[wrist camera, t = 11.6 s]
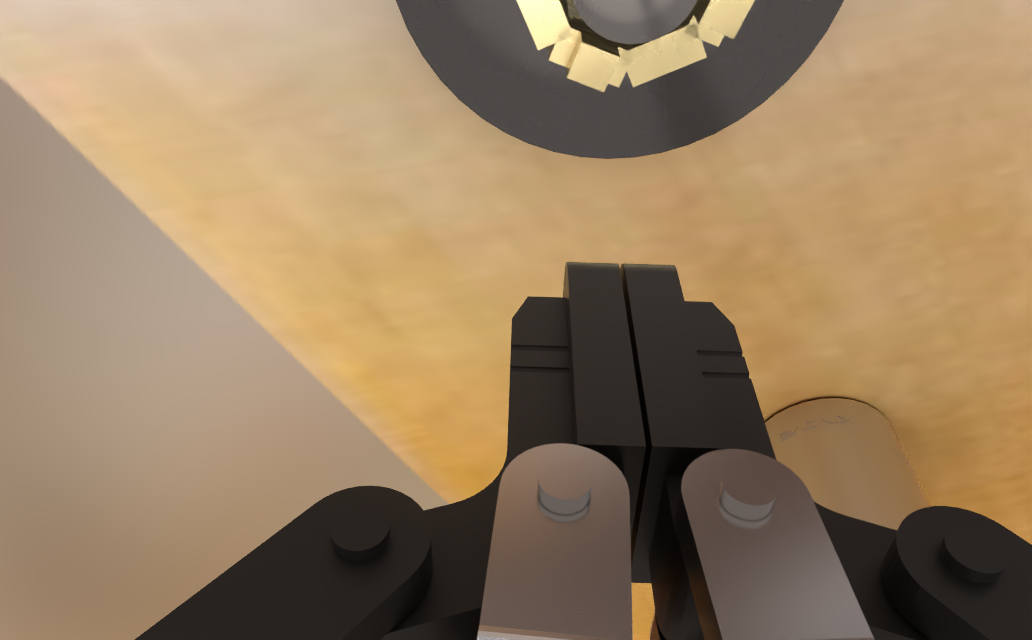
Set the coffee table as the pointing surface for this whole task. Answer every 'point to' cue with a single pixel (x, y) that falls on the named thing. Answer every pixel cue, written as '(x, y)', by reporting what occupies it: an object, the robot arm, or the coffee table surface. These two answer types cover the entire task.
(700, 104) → the plate and cap
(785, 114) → the coffee table surface
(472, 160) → the coffee table surface
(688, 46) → the grey and gold lever
